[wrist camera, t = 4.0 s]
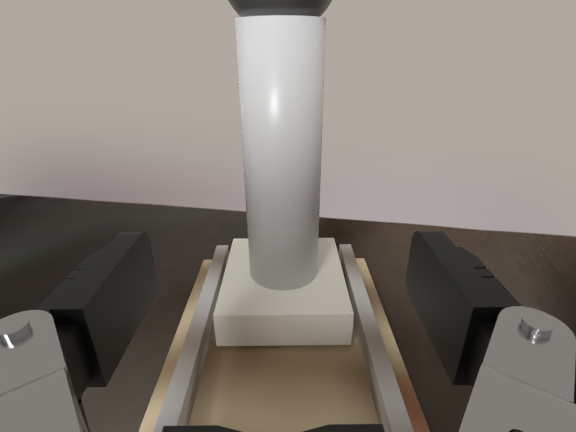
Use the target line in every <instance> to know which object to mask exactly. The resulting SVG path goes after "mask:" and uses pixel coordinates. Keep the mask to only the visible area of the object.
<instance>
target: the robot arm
mask: <svg viewBox="0 0 576 432" xmlns="http://www.w3.org/2000/svg"><path fill="white" fill-rule="evenodd" d="M406 286H407V292H408V295H409V297H410V299H411V301H412V303H413V305H414V307H415V309H416V311H417V313H418V315H419V317H420V319H421V321H422V323H423V325H424V327H425V329H426V332H427V334H428V336H429V338H430V340H431V342H432V344H433V346H434V348H435V350H436V352H437V354H438V356H439V358H440V360H441V362H442V364H443V366H444V368H445V370H446V372H447V374H448V376H449V378H450V380H451V382H452V384H453V385H472V387H473V390H472V393H471V396H470V399H469V402H468V405H467V408H466V411H465V414H464V417H463V420H462V423H461V426H460V429H459V432H576V338H575V335H574V334H573V332H572V331H571V330H570V328H569V327H568V326H566V325H565V324H564V323H563V322H561V321H560V320H558V319H557V318H555V317H553V316H552V315H549V314H547V313H545V312H542V311H540V310H537V309H533V308H529V307H522V306H521V305H520V304H519V303H518V301H517V300H516V299H515V298H514V297H513V296H512V295H511V294H510V293H509V292H508V291H507V289H506V288H505V287H504V286H503V285H502V284H501V283H500V282H499V281H498V280H497V278H494V275H493V274H492V273H491V272H490V271H489V270H488V269H486V266H485V265H484V264H483V263H482V262H481V261H480V260H479V259H478V258H477V257H476V256H475V255H473V254H472V253H470V252H468V251H467V250H465V249H463V248H462V247H456V246H455V245H454V244H453V243H452V242H451V240H450V239H449V238H448V237H447V236H446V234H445V233H444V232H442V231H416V232H415V233H414V235H413V237H412V243H411V249H410V255H409V262H408V268H407V274H406ZM155 291H156V274H155V268H154V263H153V258H152V252H151V247H150V242H149V238H148V236H147V234H146V233H144V232H138V233H117V234H116V235H115V236H114V238H113V239H112V240H111V241H110V242H109V243H108V244H107V245H106V246H105V248H104V249H99V250H97V251H95V252H94V253H92V254H90V255H89V256H87V257H85V258H84V259H83V260H82V261H81V262H80V263H79V264H78V265H77V266H76V267H75V268H74V269H73V271H71V272H70V273H69V274H68V275H67V276H66V278H65V281H62V282H61V283H60V284H59V285H58V286H57V287H56V288H55V289H54V290H53V291H52V292H51V293H50V294H49V295H48V296H47V297H46V298H45V300H44V301H43V302H42V303H41V304H40V305H39V306H38V307H37V308H36V309H35V310H28V311H23V312H18V313H15V314H12V315H9V316H7V317H4V318H2V319H0V432H91V429H90V425H89V422H88V418H87V415H86V411H85V408H84V404H83V402H82V399H81V396H82V394H83V392H84V391H85V389H86V387H106V386H107V384H108V382H109V381H110V379H111V377H112V375H113V373H114V371H115V369H116V367H117V365H118V364H119V362H120V360H121V358H122V356H123V354H124V352H125V350H126V348H127V346H128V345H129V343H130V341H131V339H132V337H133V335H134V333H135V331H136V329H137V328H138V326H139V324H140V322H141V320H142V318H143V316H144V314H145V312H146V310H147V309H148V307H149V305H150V303H151V301H152V299H153V297H154V294H155ZM162 432H242V431H238V430H234V429H230V428H226V427H222V426H218V425H203V426H164V427H163V430H162ZM303 432H385V431H384V427H383V424H328V425H325V426H321V427H317V428H314V429H310V430H306V431H303Z"/></svg>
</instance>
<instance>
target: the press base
mask: <svg viewBox="0 0 576 432" xmlns="http://www.w3.org/2000/svg"><path fill="white" fill-rule="evenodd" d="M228 257H229V249H228V245H217V247H216V250H215V253H214V256H213V259H212V260H203V263H202V266H201V268H200V271H199V274H198V276H197V279H196V282H195V284H194V287H193V289H192V292H191V295H190V297H189V300H188V303H187V305H186V308H185V310H184V313H183V316H182V318H181V321H180V324H179V326H178V329H177V332H176V334H175V337H174V339H173V342H172V345H171V347H170V350H169V353H168V355H167V358H166V360H165V363H164V366H163V368H162V371H161V374H160V376H159V379H158V382H157V384H156V387H155V389H154V392H153V395H152V397H151V400H150V403H149V405H148V408H147V410H146V413H145V416H144V418H143V421H142V424H141V426H140V429H139V432H162V430H163V427H164V426H203V425H218V426H222V427H226V428H230V429H234V430H238V431H242V432H303V431H306V430H310V429H314V428H317V427H321V426H325V425H328V424H383V427H384V431H385V432H430V431H429V428H428V426H427V423H426V420H425V418H424V415H423V412H422V410H421V407H420V404H419V402H418V399H417V396H416V394H415V391H414V389H413V386H412V383H411V381H410V378H409V375H408V373H407V370H406V367H405V365H404V362H403V360H402V357H401V354H400V352H399V349H398V346H397V344H396V341H395V338H394V336H393V333H392V330H391V328H390V325H389V323H388V320H387V317H386V315H385V312H384V309H383V307H382V304H381V301H380V299H379V296H378V294H377V291H376V288H375V286H374V283H373V280H372V278H371V275H370V272H369V270H368V267H367V264H366V262H365V259H364V258H355V256H354V253H353V250H352V247H351V244H339V259H340V263H341V267H342V271H343V274H344V278H345V282H346V286H347V290H348V294H349V298H350V301H351V305H352V309H353V313H354V319H353V330H352V341H351V345H286V346H216V338H215V329H214V321H213V314H214V310H215V306H216V302H217V299H218V295H219V291H220V287H221V284H222V280H223V276H224V272H225V269H226V265H227V261H228Z"/></svg>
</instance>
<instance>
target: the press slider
mask: <svg viewBox="0 0 576 432" xmlns="http://www.w3.org/2000/svg"><path fill="white" fill-rule="evenodd" d="M228 1H229V2H230V4H231V5H232V7H233V8H234V10H235V11H236V12H237V13H238V15H239V16H241V17H239V18H235V24H236V42H237V59H238V74H239V93H240V110H241V127H242V143H243V161H244V179H245V195H246V213H247V230H248V239H233V242H232V246H231V250H230V254H229V257H228V261H227V265H226V269H225V272H224V276H223V280H222V284H221V287H220V291H219V295H218V299H217V302H216V306H215V310H214V314H213V321H214V329H215V338H216V346H286V345H351V341H352V330H353V319H354V313H353V309H352V305H351V301H350V298H349V294H348V290H347V286H346V282H345V278H344V274H343V271H342V267H341V263H340V259H339V255H338V251H337V248H336V244H335V240H334V238H318V235H319V206H320V177H321V174H320V173H321V148H322V147H321V146H322V117H323V116H322V115H323V89H324V58H325V31H326V18H324V17H320V16H321V15H322V14H323V13H324V12H325V10H326V9H327V8H328V6H329V5H330V3H331V1H332V0H228Z"/></svg>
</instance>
